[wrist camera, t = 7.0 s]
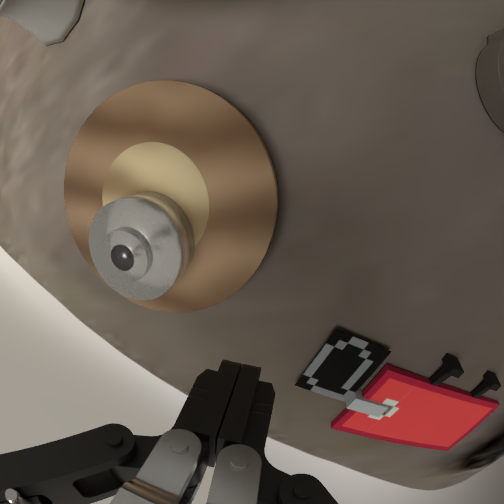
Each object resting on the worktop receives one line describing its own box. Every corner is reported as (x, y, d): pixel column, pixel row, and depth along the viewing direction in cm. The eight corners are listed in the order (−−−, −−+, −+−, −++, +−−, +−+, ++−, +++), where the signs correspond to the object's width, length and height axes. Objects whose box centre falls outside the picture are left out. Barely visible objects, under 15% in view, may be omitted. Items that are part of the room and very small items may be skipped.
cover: (108, 190, 24) (74, 203, 20) (193, 190, 23) (167, 203, 18) (118, 276, 27) (90, 298, 23) (197, 286, 26) (177, 314, 21)
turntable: (84, 91, 24) (67, 89, 21) (294, 91, 21) (292, 85, 19) (86, 276, 31) (72, 286, 29) (262, 317, 29) (258, 333, 26)
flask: (32, 42, 22) (-30, 35, 13) (58, -10, 19) (0, -29, 10) (65, 50, 22) (-5, 39, 13) (95, -8, 19) (32, -35, 10)
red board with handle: (345, 308, 27) (276, 402, 33) (348, 326, 24) (274, 420, 31) (513, 379, 27) (445, 443, 33) (521, 392, 24) (449, 457, 31)
